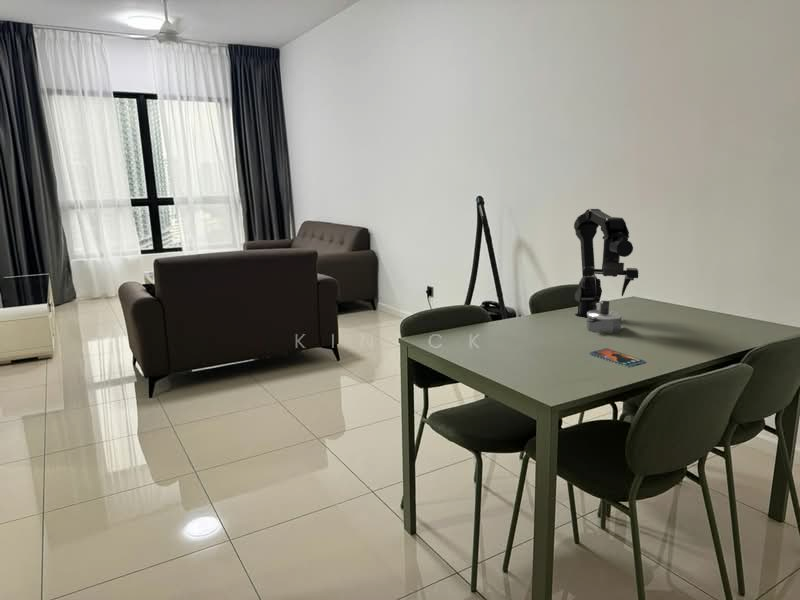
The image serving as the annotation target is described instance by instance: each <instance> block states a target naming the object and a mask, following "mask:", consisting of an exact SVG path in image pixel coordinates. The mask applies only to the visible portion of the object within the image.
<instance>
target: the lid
mask: <svg viewBox="0 0 800 600" xmlns="http://www.w3.org/2000/svg"><path fill="white" fill-rule="evenodd" d="M587 316H588V317H590V318H594V319H599V320H617V319H621V320H622V317H623V314H622V313H621V312H619V311H616V310H612V309H611V310H610V300H600V307H599V309H597V310H591V311H588V312H587Z"/></svg>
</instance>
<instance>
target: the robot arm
mask: <svg viewBox="0 0 800 600" xmlns="http://www.w3.org/2000/svg"><path fill="white" fill-rule="evenodd" d="M599 227H600V231H601V232H602V234H603V236H602V239H603V250H602V251H603V252H602V262H601V268H596V267H595V251H594V238H595V236H596V234H597V232H598V230H597V229H598V228H599ZM573 229H574V230H575V231H574V232H575V235H576V237H577V238H578V239H579V241H580V242H579V243H580V255H581V270H582V271H581V272H582V277H581V278H580V280H579V282H578V288H577V289H576V291H575V294H574V300H575V301H577V302H578V303H577V312H576V313H575V314H574V315H575V316H579V317H583V318H587V312H588V311H591V310H598V307H597V306H598V305H597V302H601V298H602V293H603V289H602V287H601V286H602V285H601V279H600V278H598V277H597V275H602V276H603V277H613V278H615V277H618V276H624V279H623V284H622V289H621V297H623V296H624V294H625V293H626V290H627V287H628V286H629V284H630V282H631V281H635V279H639V269H638V268H636V267H626V269H624V268H625V262H620V259H621V257H622V258H626V257H629V256H630V255H631V254H632V253H633V250H634V246H633V244H632V242H631V241H630V240H629V238H630V232H629V228H628V227H627V223H626V221H625V219H624V218H623V217H617V216H610V215H609V214H607V213H605V212H603V211H602V210H601V209H600V208H588V209H586V210H585V212H584V213H582V214H580V215H579V216H577V217H576V219H575V221H574V223H573Z"/></svg>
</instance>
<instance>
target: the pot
mask: <svg viewBox="0 0 800 600" xmlns="http://www.w3.org/2000/svg"><path fill="white" fill-rule="evenodd" d="M586 319H587V320H586V329H587V330H588V331H589V332H593V333H598V334H615V333H619V332H621V330H622V329H621V328H622V318H621V319H617V320H599V319H594V318H590V317H588V316H587V317H586Z"/></svg>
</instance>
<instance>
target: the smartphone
mask: <svg viewBox="0 0 800 600" xmlns="http://www.w3.org/2000/svg"><path fill="white" fill-rule="evenodd" d="M590 354H591V356H593V355H594V357H596V356H597V358H599V357H600V358H599V359H602V358H603V360H605V359H606V360H605V361H608V360H609V361H608V362H611V361H612V362H611V363H614V362H615V364H617V363H618V365H620V364H621V365H620V366H623V365H625V366H624V367H626V366H628V367H627V368H631V367H630V366H632V367H635V366H634V365H636V366H638V365H639V364H640V365H643V364H647V361H646V360H643V359H640V358H637V357H634V356H630V355H628V354H626V353H624V352H623V353H622V352H619V351H616V350H613V349H611V348H607V347H605V348H602V349H597V350H594V351H590V352H589V355H590ZM642 363H643V364H642ZM637 364H638V365H637Z"/></svg>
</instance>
